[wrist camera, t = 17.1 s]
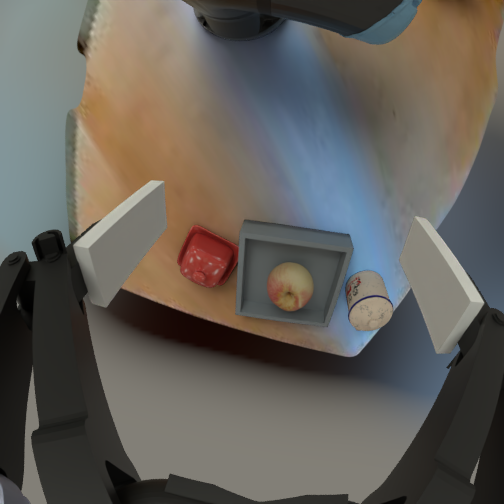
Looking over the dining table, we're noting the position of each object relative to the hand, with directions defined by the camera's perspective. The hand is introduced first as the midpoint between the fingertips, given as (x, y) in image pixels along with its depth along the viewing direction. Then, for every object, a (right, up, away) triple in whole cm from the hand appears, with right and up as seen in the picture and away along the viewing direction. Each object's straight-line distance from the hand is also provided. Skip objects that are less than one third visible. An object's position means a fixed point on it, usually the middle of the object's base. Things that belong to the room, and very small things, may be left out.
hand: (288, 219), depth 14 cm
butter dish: (-10, -2, +45) cm, 46 cm away
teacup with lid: (+22, -10, +44) cm, 51 cm away
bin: (+6, -5, +44) cm, 45 cm away
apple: (+6, -6, +43) cm, 44 cm away
